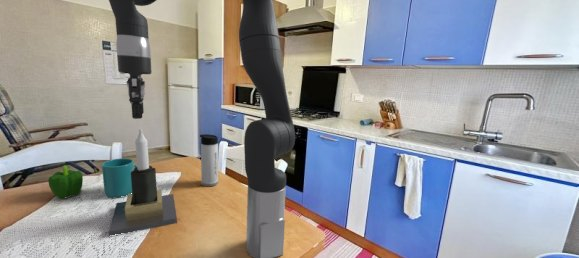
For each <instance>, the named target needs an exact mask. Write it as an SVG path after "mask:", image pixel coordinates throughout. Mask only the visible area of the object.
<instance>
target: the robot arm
mask: <svg viewBox="0 0 579 258" xmlns="http://www.w3.org/2000/svg"><path fill="white" fill-rule="evenodd" d="M108 2H109V5H110V7H111V10H112V13H113V16H114V19H115V31H116V41H115V43H116V44H115V45H116V58H117V60H116V61H117V70H118V73H120V74H128V75H129V77H128V79H127V81H126V86H127V94H128V97H129V98H128V101H129V103H130V105H131V116H132V119H135V120H136V119H138V120H139V119H142V118H143V114H144V100H145V98H144V97H145V91H146V89H145V88H146V82H145V81H144V79H143V77H142V76H143V75H151V74H152V59H151V56H152V55H151V47H150V46H151V45H150V39H149V26H148V19H147V18H146V16H144V15H143V14H142V13H140V11H139V10H137V6H139V7H143V6H144V7H145V6H150V5H151V4H153V3H155V2H157V0H108ZM276 18H277V17H276V13H275V8H274V3H273V0H242V14H241V18H240V21H239V28H238V29H239V30H238V41H239V42H238V43H239V49H240V55H241V62H242V66H243V68H244V70H245V72H246V74H247V76H248V78H250V81H251V82H252V83H253V85H254V87H255V88H256V90H257V91H258V93H259V95H260V97H261V99H262V102H263V108H264V113H265V118H264V119H257V120H253V121H251V122H250V123H249V124H248V125H247V127H246V129H245V133H244V138H243V139H244V140H243V141H244V143H243V145H244V146H243V148H244V149H243V150H244V168H245V169H244V170H245V174H246V178H247V200H246V201H247V205H246V208H247V209H246V210H247V211H246V244H245V245H246V247H245V248H246V251H247V253H248V254H249V256H251V257H253V258H277V257H280V256H282V255H284V245H285V244H284V243H285V241H284V240H285V230H286V229H285V227H286V225H285V224H286V220H285V207H286V192H287V191H286V189H287V187H286V186H287V174H286V173H285V171H284V170H282V169H279V168H278V167H277V168H276V166H275V165H276V164H275V161H276V160H275V158H278V157H280V156H284V155H287V154H288V153H290V152H291V151H292V150H293V148H294V146H295V144H296V143H295V141H296V133H295V132H296V131H295V127H294V126H295V125H294V120H293V117H292V113H291V108H290V104H289V99H288V95H287V89H286V82H285V76H284V69H283V68H284V67H283V61H282V50H281V43H280V42H281V41H280V35H279V29H278V24H277V19H276Z"/></svg>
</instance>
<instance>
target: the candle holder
mask: <svg viewBox="0 0 579 258" xmlns="http://www.w3.org/2000/svg"><path fill="white" fill-rule="evenodd" d="M162 191H163V190H162V189H159V188H158V189H157V201H154V202H148V203H142V204H136V205H133V196H132V194H128V195H127V196H126V201H120V202H117V203H116V204H115V208H114V211H113V215H112V218H111V221H110V225H109V228H108V231H107V233H108V237H109V236H110V235H115V234H121V233H126V234H129V233H128V232H130V233H134V232H133V231H135V232H138V231H137V230H140V231H144V230H148V229H149V230H150V229H154V228H158V227H162V226H169V225H172V224H177V223H178V218H177V212H176V204H175V199H174V198H175V197H174V194H170V193H169V194H166V195H163V194H162ZM121 235H122V234H121Z"/></svg>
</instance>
